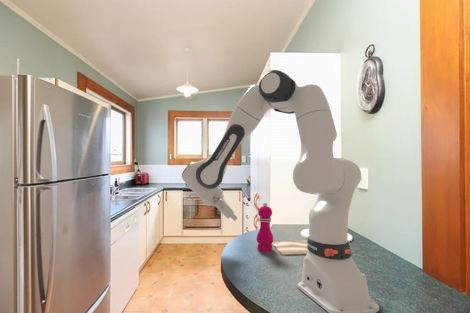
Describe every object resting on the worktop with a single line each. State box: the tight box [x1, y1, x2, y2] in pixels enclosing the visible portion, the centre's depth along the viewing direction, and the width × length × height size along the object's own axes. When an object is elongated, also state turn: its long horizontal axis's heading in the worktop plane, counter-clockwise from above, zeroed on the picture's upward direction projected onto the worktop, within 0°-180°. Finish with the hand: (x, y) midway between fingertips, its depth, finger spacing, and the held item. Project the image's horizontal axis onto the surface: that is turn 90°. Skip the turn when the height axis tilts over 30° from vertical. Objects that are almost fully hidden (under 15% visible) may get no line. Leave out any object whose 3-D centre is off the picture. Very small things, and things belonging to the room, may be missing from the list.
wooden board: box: [271, 239, 308, 257], centre depth 111 cm, size 16×20×1 cm
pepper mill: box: [255, 202, 274, 253], centre depth 109 cm, size 7×7×20 cm
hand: (235, 218), depth 107 cm, fingers closed
